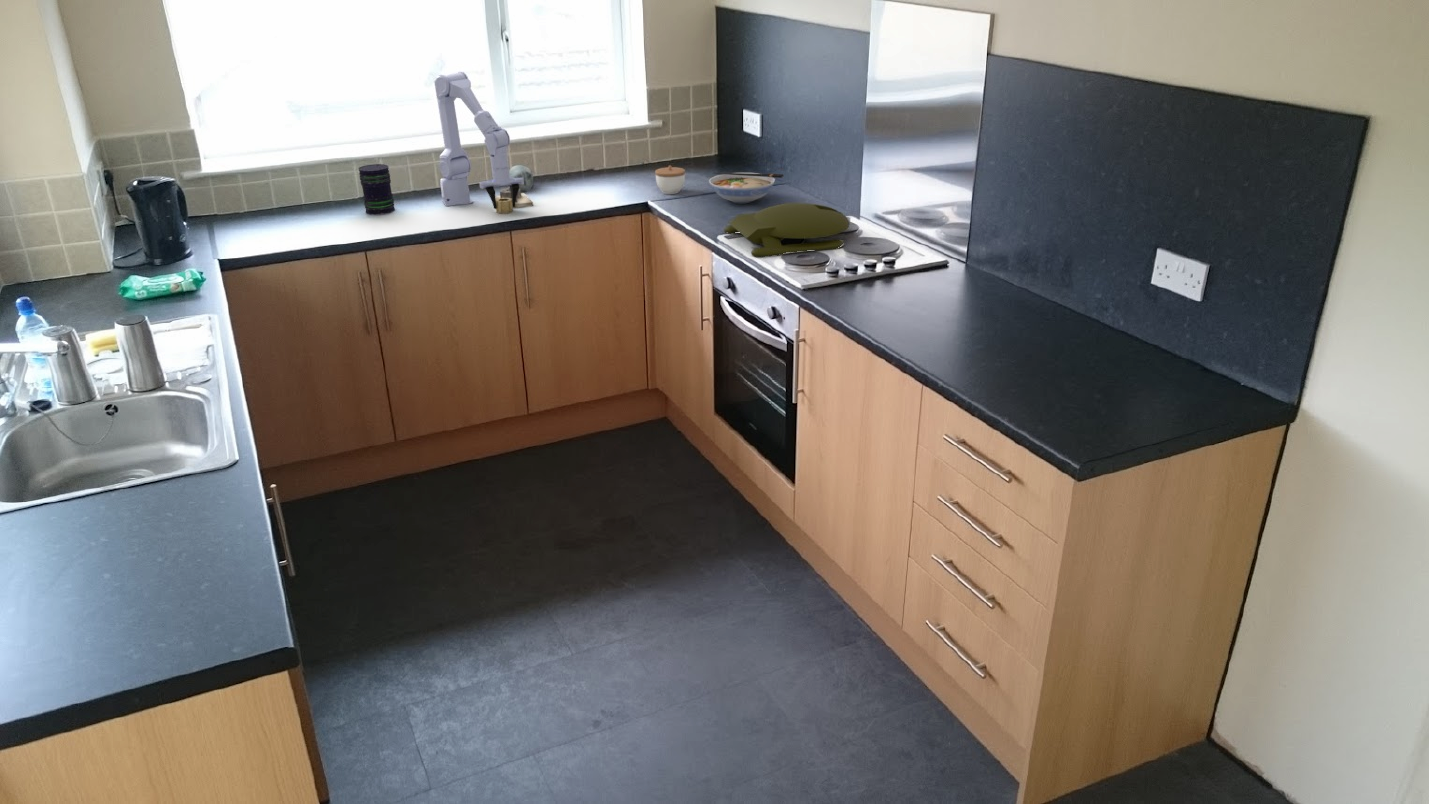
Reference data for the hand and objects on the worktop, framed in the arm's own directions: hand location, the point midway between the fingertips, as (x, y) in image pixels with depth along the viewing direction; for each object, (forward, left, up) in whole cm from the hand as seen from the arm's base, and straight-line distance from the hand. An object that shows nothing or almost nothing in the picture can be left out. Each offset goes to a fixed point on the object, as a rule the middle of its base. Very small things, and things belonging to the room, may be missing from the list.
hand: (504, 207), depth 349 cm
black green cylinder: (-39, +19, -2) cm, 44 cm away
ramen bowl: (+78, -23, -2) cm, 81 cm away
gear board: (+5, +10, -1) cm, 12 cm away
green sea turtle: (+74, -70, -2) cm, 102 cm away
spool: (+12, +29, -2) cm, 32 cm away
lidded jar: (+60, 0, -2) cm, 60 cm away
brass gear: (0, 0, -1) cm, 1 cm away
